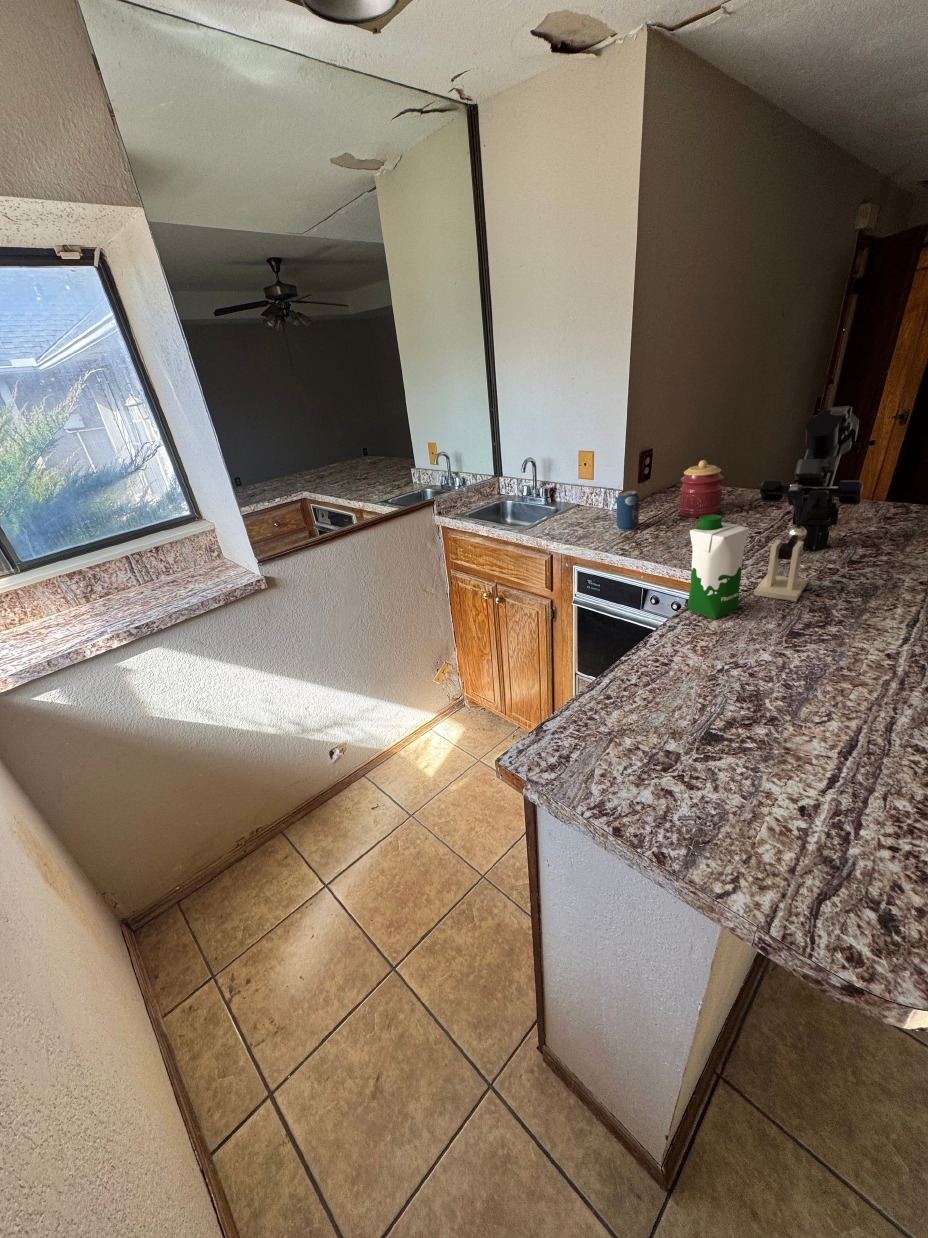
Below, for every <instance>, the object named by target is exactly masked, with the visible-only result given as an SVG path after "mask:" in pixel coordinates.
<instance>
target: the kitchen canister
mask: <svg viewBox="0 0 928 1238" xmlns="http://www.w3.org/2000/svg"><path fill="white" fill-rule="evenodd" d="M721 471H722V468H720V467H718V466H717V465H715V464H708V461H707V460H705V459H701V460H700V461H699V462H698V465H694V466H693V465H692V466H690V467H688V469H686V470H684V471H683V474H684V476H682V477H681V478H680V482H681V487H680V497H679V506H678V507H679V508H678V510H679V514H680V515H681V516H683V517H689V518H700V517H701V516H703V515H719V513H720V512H721V509H722V493H723V488H724V487H723V485H722V481H723V480H724V478H725V477H724V475H723V474H721Z"/></svg>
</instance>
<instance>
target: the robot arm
mask: <svg viewBox="0 0 928 1238" xmlns="http://www.w3.org/2000/svg"><path fill="white" fill-rule="evenodd" d="M859 423H860V419H859V418H858V417H857V416H856V415H855V414H854V413H853V406H849V405H843V406H831V407H829V408H827V409H821V410H820V412H819V414H815V415H813V417H812V418H810V419H809V421H807V423H806V424H805V427H804V429H803V431H804V432H803V435H804V437H805V447H806V453H805V455H804V458H800V459H798V460H797V463H796V468H795V471H794V475H795V476H794V483H790V484H789V485H784V482H783V479H765V480H763V481H762V482H761V484H760V485H759V492H760V493H759V494H760V499H761V501H763V502H764V503H765V502H766V503H768V502H769V503H778V502H779V501H781V500H782V499H783V497H784V496H786V497H787V504H788V506H793V515H792V526H802V527H804V528H805V529H806V531H807V535H806V537H805V538H804V539H803V540H802V542H804V544H803V549H802V550H804V551H808V552H814V551H818V550H821V549H824V548H827V547H830V545H831V544H830V543H828V541H829V536H830V530H829V528H830V527H831V528H833V526H836V525H837V523H838V519H839V512H840V511H839V510H840V508H839V506H838V503H839V504H841V505H851V506H852V505H853V506H857V505H860V504H861V501H862V497H863V496H862V495H863V490H864V482H863V481H862V480H857V479H856V480H854V479H852V480H851V479H850V480H849V479H845V480H844V479H843V480H840V481H839V484H838V486H833V483H834V480H835V476H836V473H837V469H838V466H839V464H840V459H841V456H843V455H845V454H846V453H847V452H849V451H850V450H851V448H852V444H853V442H856V440H857V438H858V437H857V436H858V431H859ZM836 497H838V500H837V501H838V502H837V501H835V499H836ZM796 544H797V542H796V543H795V545H796ZM795 545H794V546H795Z"/></svg>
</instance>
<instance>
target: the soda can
mask: <svg viewBox="0 0 928 1238" xmlns="http://www.w3.org/2000/svg"><path fill="white" fill-rule="evenodd" d="M639 505H640V497H639V495H638V491H636V490H623V491H619V492H618V495H617V498H616V527H617V529H619V530H620V531H627V532H628V531H633V530H635V529H637V528H638V526H639V521H640V519H639V518H640V517H639V516H640V515H639V514H640V513H639V509H640V508H639V507H640V506H639Z"/></svg>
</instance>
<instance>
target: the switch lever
mask: <svg viewBox="0 0 928 1238" xmlns="http://www.w3.org/2000/svg"><path fill="white" fill-rule="evenodd" d="M806 535H807V531H806V529H805V528H804V527H802V526H797V525H793V526H792V527H791V528H789V529H788V531H787V538H788V541H787V543H781V547H780V549H779V556H778V559H779V560H784V561H785V560H788V561H791V559H792V553H793V548H794V545H795V543H796V542H798V541H802V540H803V539H804V538H805V537H806Z"/></svg>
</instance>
